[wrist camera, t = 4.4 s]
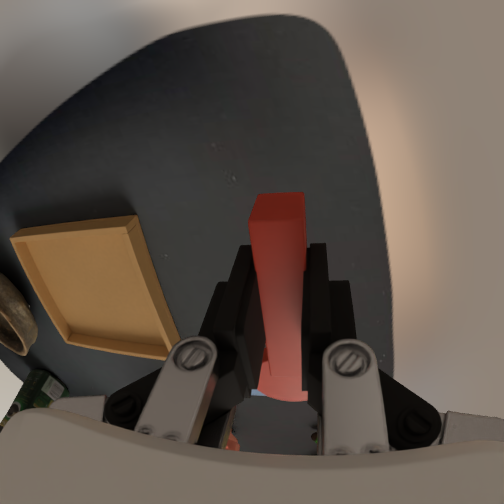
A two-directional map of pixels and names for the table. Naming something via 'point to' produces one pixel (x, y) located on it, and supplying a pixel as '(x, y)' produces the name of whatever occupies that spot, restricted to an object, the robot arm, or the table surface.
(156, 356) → the tray
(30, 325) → the bowl
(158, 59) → the table surface
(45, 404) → the coffee jar
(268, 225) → the red spoon
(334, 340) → the robot arm
